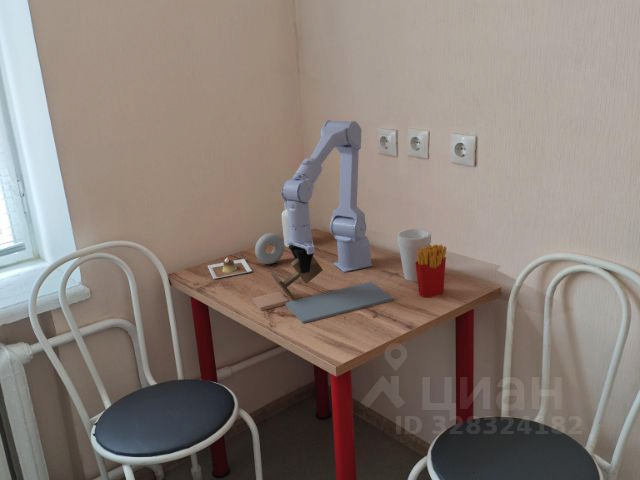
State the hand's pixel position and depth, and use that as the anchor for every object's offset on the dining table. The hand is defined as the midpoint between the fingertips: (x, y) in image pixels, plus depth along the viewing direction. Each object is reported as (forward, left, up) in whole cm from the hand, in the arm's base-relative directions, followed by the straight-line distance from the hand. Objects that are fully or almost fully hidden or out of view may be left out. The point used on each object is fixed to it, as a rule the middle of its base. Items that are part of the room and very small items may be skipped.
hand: (303, 270), depth 179 cm
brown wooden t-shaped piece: (0, 0, -3) cm, 3 cm away
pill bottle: (-12, -40, -7) cm, 43 cm away
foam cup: (-31, +6, -7) cm, 33 cm away
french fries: (-29, +18, -7) cm, 35 cm away
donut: (+1, -28, -7) cm, 29 cm away
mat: (-5, +10, -7) cm, 13 cm away
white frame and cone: (+14, -30, -8) cm, 34 cm away
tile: (+7, 0, -7) cm, 9 cm away
